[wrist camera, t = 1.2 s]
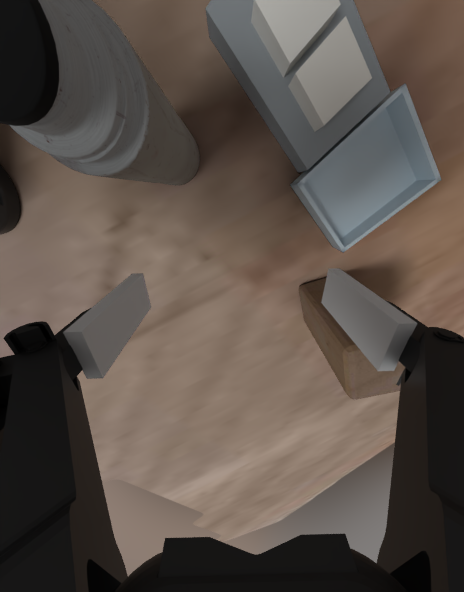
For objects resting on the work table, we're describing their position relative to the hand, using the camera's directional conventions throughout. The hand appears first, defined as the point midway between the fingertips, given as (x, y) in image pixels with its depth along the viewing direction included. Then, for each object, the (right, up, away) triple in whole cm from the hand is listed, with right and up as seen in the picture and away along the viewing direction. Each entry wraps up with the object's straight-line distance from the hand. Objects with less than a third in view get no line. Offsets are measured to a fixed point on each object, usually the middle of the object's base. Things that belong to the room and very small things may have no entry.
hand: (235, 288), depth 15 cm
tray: (+20, +18, +19) cm, 33 cm away
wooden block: (+19, -1, +29) cm, 35 cm away
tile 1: (+11, +25, +10) cm, 29 cm away
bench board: (+8, +29, +12) cm, 33 cm away
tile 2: (+6, +29, +7) cm, 31 cm away
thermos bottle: (-9, +21, +17) cm, 29 cm away
